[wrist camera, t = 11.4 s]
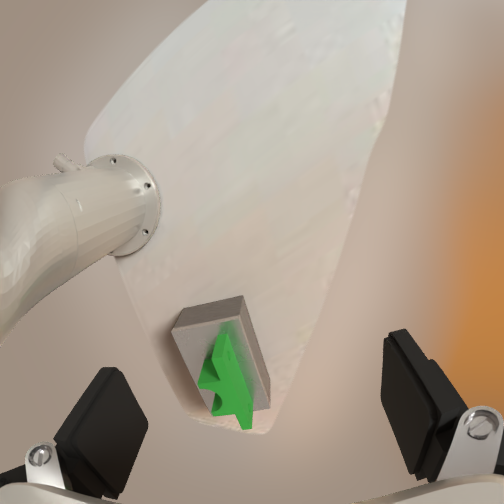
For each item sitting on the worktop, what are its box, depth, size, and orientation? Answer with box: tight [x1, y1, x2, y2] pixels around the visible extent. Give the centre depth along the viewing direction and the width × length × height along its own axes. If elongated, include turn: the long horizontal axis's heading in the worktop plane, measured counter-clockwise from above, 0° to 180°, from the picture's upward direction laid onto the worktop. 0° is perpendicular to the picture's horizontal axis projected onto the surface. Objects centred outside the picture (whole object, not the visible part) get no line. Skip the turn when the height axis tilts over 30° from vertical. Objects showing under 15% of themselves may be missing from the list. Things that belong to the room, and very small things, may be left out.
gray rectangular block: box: [171, 295, 270, 416], centre depth 37 cm, size 14×8×6 cm, turn 15°
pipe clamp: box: [197, 334, 253, 430], centre depth 32 cm, size 11×4×5 cm, turn 15°
